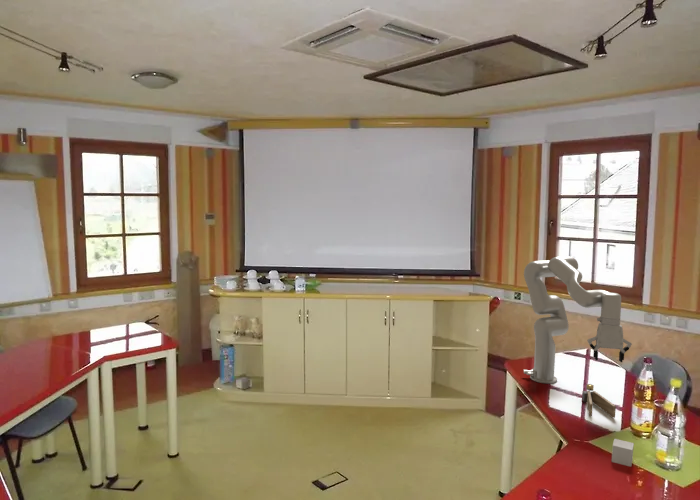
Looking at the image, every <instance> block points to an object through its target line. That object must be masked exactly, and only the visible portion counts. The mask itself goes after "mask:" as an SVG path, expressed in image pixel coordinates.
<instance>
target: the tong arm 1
mask: <svg viewBox="0 0 700 500" xmlns="http://www.w3.org/2000/svg"><path fill="white" fill-rule="evenodd" d="M590 392H591V391H589V390H587V402H586V404H587V410H588V415H589V416H590V417H593V408H594V407H593V406H594V405H593V404H594V403H592V399H591V394H590Z"/></svg>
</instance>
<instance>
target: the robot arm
mask: <svg viewBox="0 0 700 500" xmlns="http://www.w3.org/2000/svg"><path fill="white" fill-rule="evenodd" d="M578 269H579V263H578V261H577V259H575V257H572V256H567V255H566V256H555V257H552V258H551V259H550V260H549V259H548V260H545V259H544V260H533V261H530V262H529V263H527V264H526V265H525V267H524V270H523V278H524V281H525V283H526V286H527V290H528V294H529V298H530V303H531V306H532V307H531V308H532V310H533V312H534V314H535V315H537V316H545V315H550V316H546V317H540V318H538V319H536V320H535V322H534V324H533V333H534V340H535V341H534V358H533V360H534V361H533V362H534V363H533V367H532V369H530V370H528V369H523V374H526V375H527V376H529V378H530V379H531V380H532V381H534V382H537V383H541V384H556V383H558V378H557V377H556V376H555V366H556V365H555V363H556V343H555V339H554V338H553V337H557V336H565V334H567V333H568V331H569V327H570V325H569V320H568V316H567V313H566V308H565V303H564V302H563V299H562V298H560V296H558V295H555V294H550V295H549V294H548V291H547V286H546V284H545V282H543V280H542V279H541V278H551V277H552V278H553V277H555V278H557V279H559V281H562V283H563V284H564V285H565V286H566V290H567V293H568V295H569V296H570V298H571V299H572V300H573V301H574V302H576V303H577V304H578V305H579V306H581V307H583V308H585V309H587V308H588V309H589V308H590V309H591V308H599V307H600V308H601V310H600V316H599V317H597V318H596V321H597V322H599V323H598V326H597V329H596V330H597V331H596V336H593V337H590V338H588V339H587V343H588V345H589V347H590V348H591V349H592V350H593V359H595V361H598V359H599V351H598V350H599V349H600V348H601V349H614V350H620V351H619V352H618V355H619V356H618V361H619V362H620V363H623V361H624V360H625V353H626V352H627V351H629V350H630V348H631V347H632V346H633V343H632V342H631V341H629V340H627V339H625V338H624V330H623V326H622V324H621V316H622V315H621V313H622V295H621V294H619V293H617V292H610V291H607V290H604V289H592V290H591V289H588V290H586V289H585V288H583V287H582V286H581V285H580V283H581V281H582V279H583V274H582V272H581V271H579V270H578ZM594 341H595V345H594V344H593V342H594ZM624 344H626V346H624Z"/></svg>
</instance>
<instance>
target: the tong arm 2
mask: <svg viewBox="0 0 700 500" xmlns="http://www.w3.org/2000/svg"><path fill="white" fill-rule="evenodd" d="M592 392H593V396H592V402H593V404H594V405H595V406H597V407H598V408H600V409H601V410H602V411H604V413H606V414H607V416H608V415H609V416H610V417H611V418H613V419H615V418H616V409H617V407H616V404H614V403H613V402H611V401H610V400H608V399H607V398H605V397H604V396H602V395H601V394H600V393H598V392H596V391H595V390H593V391H592Z"/></svg>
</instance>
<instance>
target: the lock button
mask: <svg viewBox="0 0 700 500" xmlns="http://www.w3.org/2000/svg"><path fill="white" fill-rule="evenodd" d="M594 387H595V386H594V385H593V384H591V383H587V384H586V390H587V391H590V392H593V391H594Z"/></svg>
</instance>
